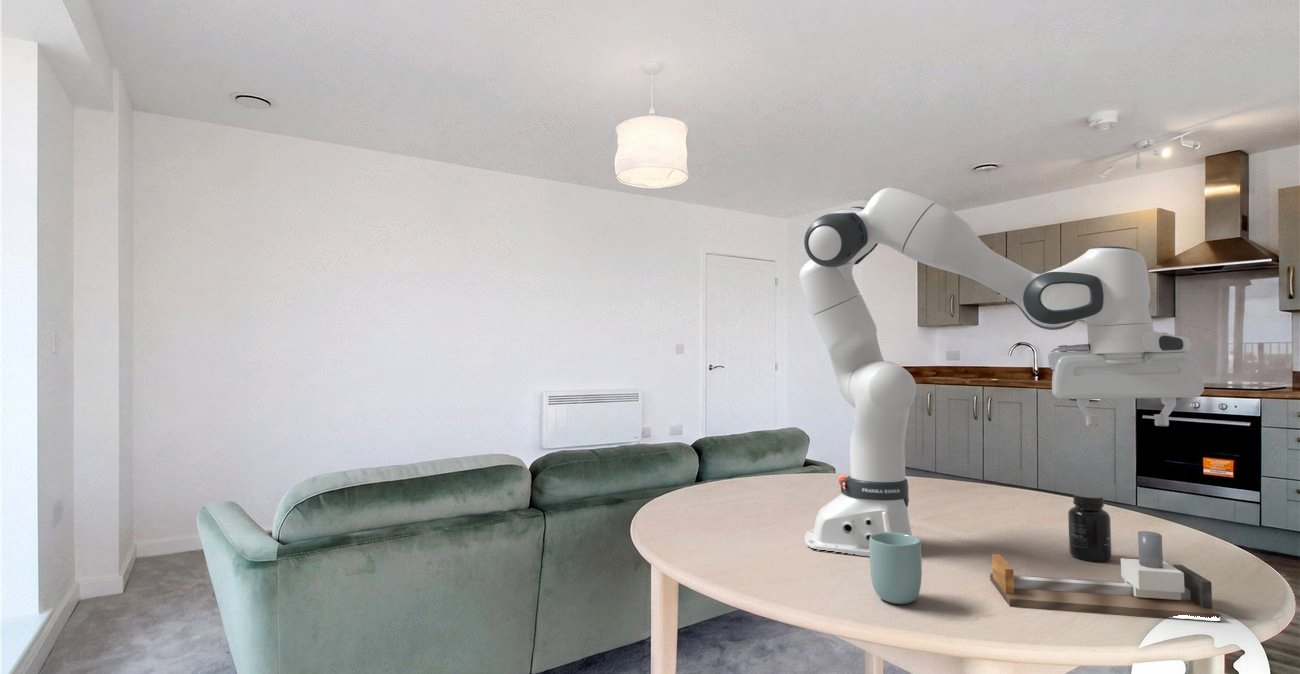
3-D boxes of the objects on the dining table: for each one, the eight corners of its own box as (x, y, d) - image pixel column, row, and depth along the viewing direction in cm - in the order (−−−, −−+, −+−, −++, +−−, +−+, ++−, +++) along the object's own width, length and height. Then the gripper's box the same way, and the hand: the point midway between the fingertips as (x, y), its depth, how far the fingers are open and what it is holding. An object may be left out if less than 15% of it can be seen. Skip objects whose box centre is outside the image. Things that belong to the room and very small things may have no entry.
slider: (1139, 599, 98) (1136, 537, 99) (1121, 585, 104) (1119, 527, 105) (1185, 602, 97) (1182, 540, 97) (1164, 588, 103) (1161, 529, 103)
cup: (896, 612, 99) (894, 547, 99) (861, 595, 106) (859, 535, 106) (933, 604, 102) (931, 541, 102) (896, 588, 109) (894, 529, 109)
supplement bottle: (1119, 563, 120) (1116, 499, 120) (1079, 562, 121) (1076, 498, 121) (1101, 552, 126) (1098, 492, 127) (1063, 551, 128) (1061, 491, 128)
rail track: (1009, 606, 100) (1008, 573, 101) (990, 580, 112) (989, 550, 112) (1221, 622, 93) (1219, 586, 93) (1176, 592, 105) (1175, 561, 105)
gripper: (1050, 345, 107) (1056, 427, 106) (1204, 339, 99) (1211, 428, 98) (1044, 345, 113) (1050, 423, 112) (1189, 339, 104) (1196, 423, 104)
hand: (1126, 425), depth 105 cm, fingers open, 8 cm apart
